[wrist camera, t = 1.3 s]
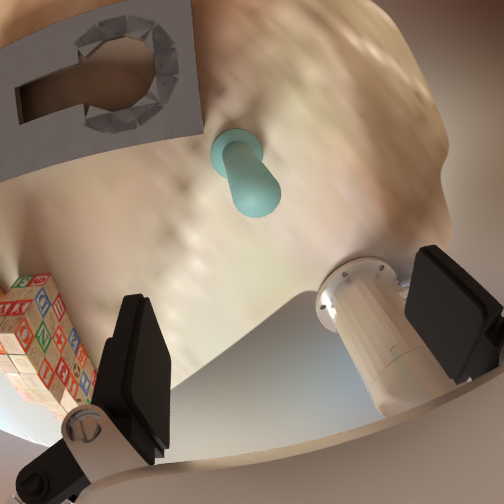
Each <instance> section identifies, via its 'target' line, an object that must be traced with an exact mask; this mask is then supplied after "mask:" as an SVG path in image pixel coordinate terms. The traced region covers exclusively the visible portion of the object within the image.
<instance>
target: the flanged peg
mask: <svg viewBox="0 0 504 504" xmlns="http://www.w3.org/2000/svg"><path fill="white" fill-rule="evenodd" d="M262 159H263V150H262V146H261V144H260V142H259V141H258V139H257V138H256V137H255V136H254V135H253V134H251V133H250V132H248V131H246V130H242V129H231V130H227V131H225V132H223V133H222V134H220V135H219V136H218V137H217V138H216V140H215V141H214V143H213V145H212V148H211V160H212V164H213V166H214V168H215V170H216V171H217V172H218V173H219V174H220V175H222V176H223V177H225V178H227V179H228V182H229V186H230V190H231V194H232V198H233V201H234V204H235V206H236V208H237V209H238V210H239V211H240V212H241V213H242V214H244V215H246V216H248V217H253V218H259V217H263V216H266V215H268V214H270V213H271V212H272V211H274V210H275V208H276V207H277V206H278V204H279V202H280V198H281V189H280V186H279V183H278V182H277V180H276V179H275V178H274V177H273V175H272V174H271V173H270V171H269V170H268V169H267V168H266V167H265V165H264V164H263V163H262Z"/></svg>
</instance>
